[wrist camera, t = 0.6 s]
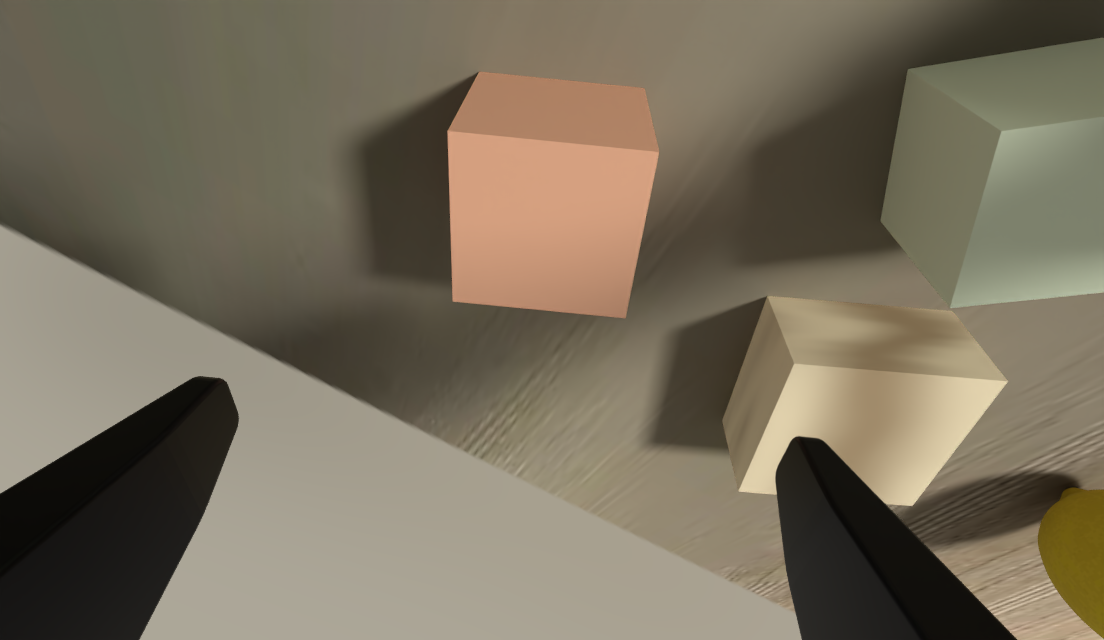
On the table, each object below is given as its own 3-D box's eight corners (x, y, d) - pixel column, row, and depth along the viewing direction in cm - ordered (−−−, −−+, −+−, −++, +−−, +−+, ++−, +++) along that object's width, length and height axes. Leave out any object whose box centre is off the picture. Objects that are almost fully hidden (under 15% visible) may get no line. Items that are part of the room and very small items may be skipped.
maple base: (949, 307, 22) (1007, 381, 19) (874, 429, 27) (912, 506, 23) (765, 292, 22) (793, 363, 19) (721, 416, 27) (738, 491, 24)
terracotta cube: (644, 87, 18) (659, 152, 14) (619, 231, 21) (625, 318, 17) (479, 71, 18) (447, 130, 14) (479, 217, 21) (452, 301, 17)
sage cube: (1099, 37, 16) (1262, 93, 12) (1041, 199, 19) (1157, 286, 15) (906, 68, 17) (1001, 131, 13) (879, 219, 20) (950, 308, 16)
